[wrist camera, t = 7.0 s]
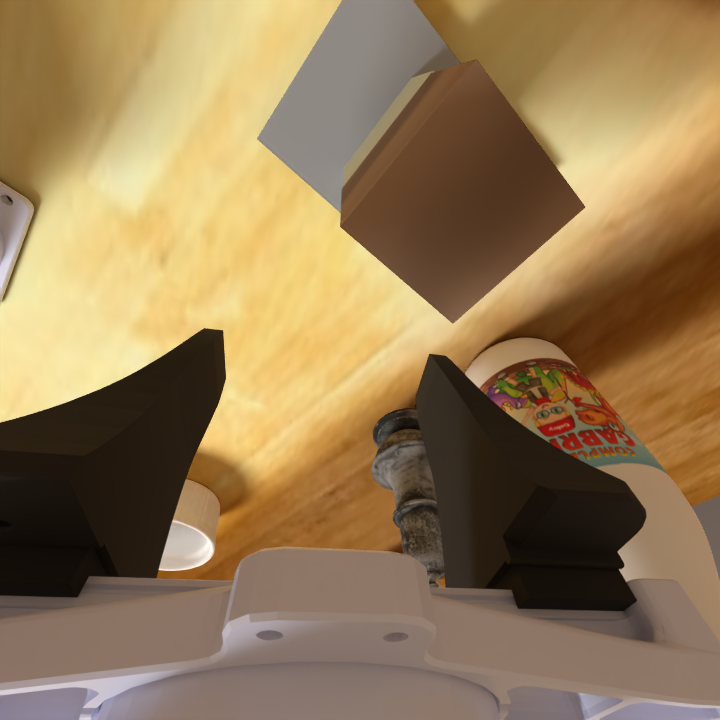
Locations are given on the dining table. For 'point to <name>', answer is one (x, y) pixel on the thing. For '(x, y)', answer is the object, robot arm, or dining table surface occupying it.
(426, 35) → the plate
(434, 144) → the walnut block
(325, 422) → the dining table surface
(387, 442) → the grey chess piece
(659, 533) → the milk bottle
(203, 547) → the ramekin
